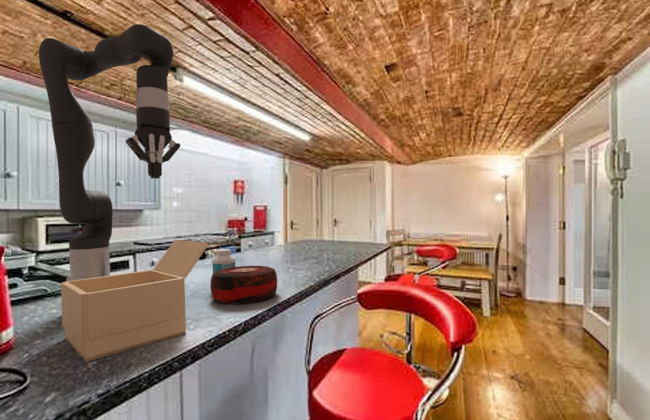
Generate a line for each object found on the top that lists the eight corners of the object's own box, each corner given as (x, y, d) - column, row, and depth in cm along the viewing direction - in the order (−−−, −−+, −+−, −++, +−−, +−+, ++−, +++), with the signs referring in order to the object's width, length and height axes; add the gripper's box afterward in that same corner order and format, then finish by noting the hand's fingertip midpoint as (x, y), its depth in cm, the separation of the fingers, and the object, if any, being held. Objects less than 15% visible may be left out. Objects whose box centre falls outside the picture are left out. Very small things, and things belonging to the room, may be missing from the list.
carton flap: (206, 242, 78) (209, 243, 79) (175, 239, 90) (177, 241, 91) (183, 277, 74) (186, 278, 75) (153, 269, 86) (155, 271, 87)
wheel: (268, 306, 95) (284, 289, 115) (267, 275, 95) (283, 264, 115) (198, 306, 97) (226, 290, 117) (197, 276, 97) (225, 265, 117)
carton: (83, 363, 60) (81, 295, 60) (61, 338, 73) (60, 282, 73) (187, 334, 74) (185, 278, 74) (153, 317, 87) (151, 269, 87)
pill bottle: (223, 293, 111) (222, 251, 111) (208, 291, 115) (207, 250, 115) (240, 288, 117) (239, 249, 117) (225, 286, 121) (224, 248, 121)
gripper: (173, 117, 94) (175, 180, 94) (119, 108, 85) (121, 178, 85) (185, 111, 89) (187, 178, 89) (129, 100, 80) (131, 175, 79)
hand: (155, 178), depth 87 cm, fingers closed
